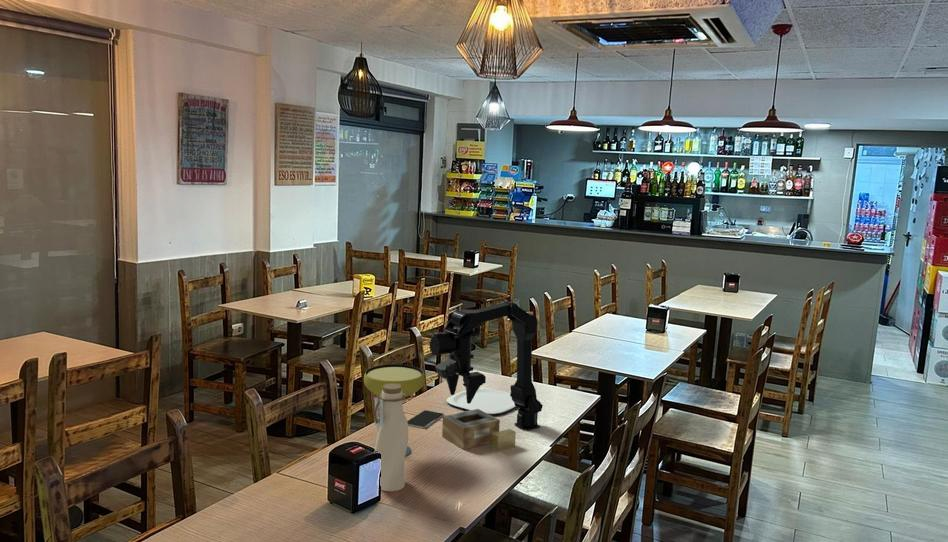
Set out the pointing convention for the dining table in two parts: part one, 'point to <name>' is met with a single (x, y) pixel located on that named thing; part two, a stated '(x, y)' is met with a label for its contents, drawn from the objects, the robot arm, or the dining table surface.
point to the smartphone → (424, 419)
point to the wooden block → (503, 439)
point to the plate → (484, 401)
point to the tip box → (469, 428)
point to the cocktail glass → (394, 380)
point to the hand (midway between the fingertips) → (460, 399)
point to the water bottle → (391, 436)
